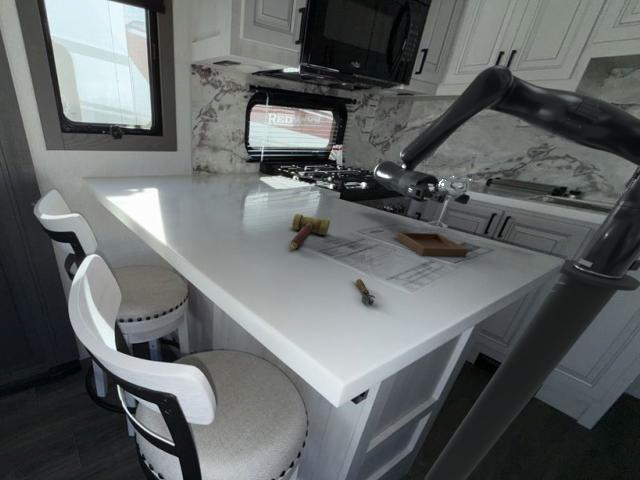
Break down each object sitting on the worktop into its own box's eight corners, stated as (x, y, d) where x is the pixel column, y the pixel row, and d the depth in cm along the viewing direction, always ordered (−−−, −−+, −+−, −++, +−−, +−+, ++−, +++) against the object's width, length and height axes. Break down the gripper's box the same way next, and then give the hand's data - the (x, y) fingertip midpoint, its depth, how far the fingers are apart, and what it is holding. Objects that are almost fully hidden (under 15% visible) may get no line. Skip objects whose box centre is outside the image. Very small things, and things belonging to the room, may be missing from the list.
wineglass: (421, 223, 82) (438, 176, 76) (427, 219, 87) (444, 174, 81) (449, 230, 79) (470, 181, 72) (454, 225, 83) (474, 178, 77)
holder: (435, 240, 92) (438, 233, 91) (465, 256, 81) (468, 249, 80) (396, 238, 91) (398, 232, 90) (421, 255, 80) (424, 248, 79)
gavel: (313, 243, 73) (274, 235, 76) (310, 260, 75) (272, 252, 79) (330, 217, 89) (297, 211, 92) (327, 232, 91) (295, 226, 95)
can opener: (355, 283, 63) (356, 278, 63) (366, 284, 63) (368, 279, 62) (363, 305, 56) (365, 300, 55) (376, 307, 55) (378, 302, 55)
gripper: (398, 171, 88) (435, 182, 74) (444, 173, 90) (488, 185, 76) (390, 197, 92) (423, 213, 78) (434, 199, 94) (474, 215, 80)
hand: (455, 199), depth 77 cm, fingers closed on wineglass, 6 cm apart
